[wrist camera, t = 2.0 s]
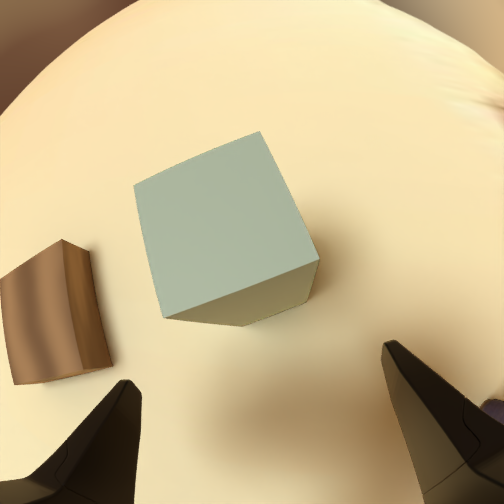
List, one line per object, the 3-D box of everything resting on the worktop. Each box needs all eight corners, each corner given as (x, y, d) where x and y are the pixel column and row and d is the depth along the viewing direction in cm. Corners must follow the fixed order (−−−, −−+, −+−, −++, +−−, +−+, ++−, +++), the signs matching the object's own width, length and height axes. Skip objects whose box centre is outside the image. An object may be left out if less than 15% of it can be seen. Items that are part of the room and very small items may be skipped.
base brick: (41, 383, 22) (14, 385, 18) (24, 286, 25) (-1, 279, 21) (112, 366, 21) (83, 369, 18) (88, 251, 25) (61, 239, 21)
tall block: (241, 326, 21) (163, 317, 8) (220, 264, 22) (133, 185, 10) (306, 302, 21) (320, 258, 8) (281, 240, 22) (259, 131, 10)
